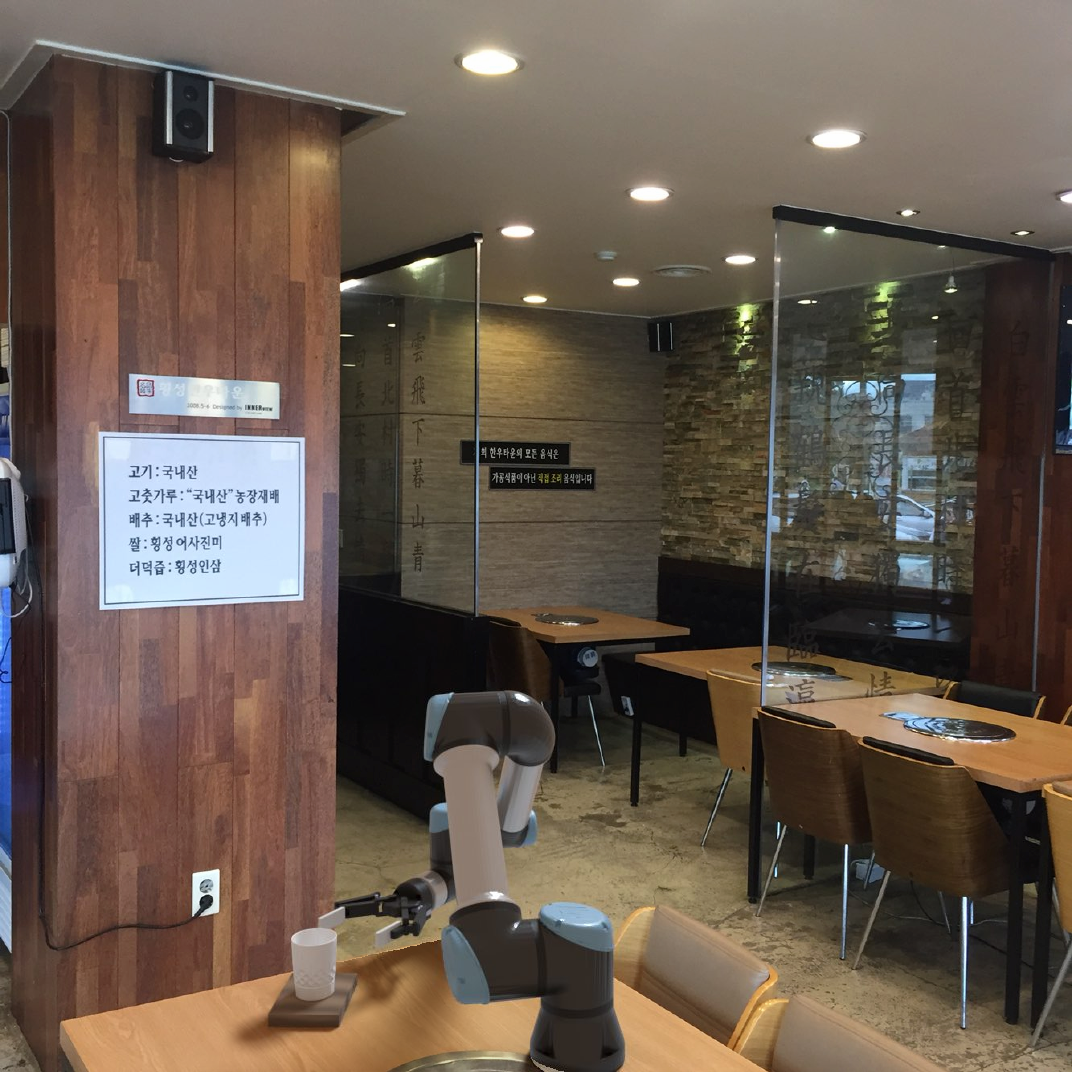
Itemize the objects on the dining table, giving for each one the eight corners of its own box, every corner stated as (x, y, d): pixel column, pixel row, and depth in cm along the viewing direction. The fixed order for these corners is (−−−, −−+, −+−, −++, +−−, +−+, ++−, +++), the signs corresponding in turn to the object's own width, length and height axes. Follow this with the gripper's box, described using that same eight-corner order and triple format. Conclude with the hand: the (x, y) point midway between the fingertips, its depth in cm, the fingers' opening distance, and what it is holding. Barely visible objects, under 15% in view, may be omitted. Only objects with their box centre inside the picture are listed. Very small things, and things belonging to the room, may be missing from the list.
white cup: (327, 1004, 188) (326, 947, 187) (284, 1001, 189) (283, 944, 189) (344, 984, 196) (343, 929, 195) (302, 981, 197) (302, 926, 197)
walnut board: (339, 1026, 184) (338, 1014, 184) (268, 1026, 185) (268, 1014, 185) (357, 984, 200) (357, 973, 200) (292, 983, 201) (292, 973, 201)
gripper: (471, 927, 211) (402, 968, 193) (371, 902, 224) (297, 939, 206) (470, 888, 211) (401, 926, 193) (370, 866, 224) (297, 900, 206)
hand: (347, 933), depth 200 cm, fingers open, 13 cm apart
